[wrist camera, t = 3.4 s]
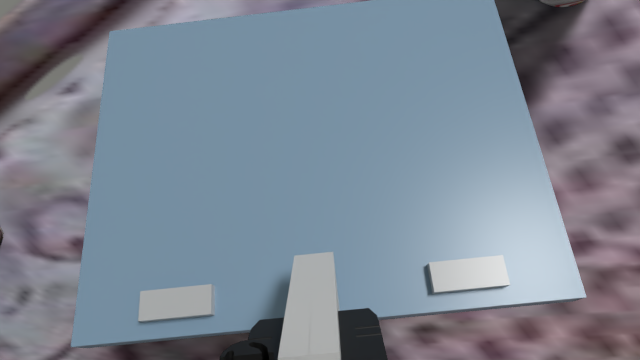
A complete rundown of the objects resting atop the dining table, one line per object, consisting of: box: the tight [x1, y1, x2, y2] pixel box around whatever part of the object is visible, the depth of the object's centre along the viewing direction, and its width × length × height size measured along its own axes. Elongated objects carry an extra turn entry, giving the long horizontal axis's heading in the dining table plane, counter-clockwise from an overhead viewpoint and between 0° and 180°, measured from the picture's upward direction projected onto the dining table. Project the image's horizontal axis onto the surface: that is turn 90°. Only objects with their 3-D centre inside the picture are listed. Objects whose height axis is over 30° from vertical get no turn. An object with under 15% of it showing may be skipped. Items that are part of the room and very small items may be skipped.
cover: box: [71, 0, 586, 348], centre depth 22 cm, size 21×16×2 cm
